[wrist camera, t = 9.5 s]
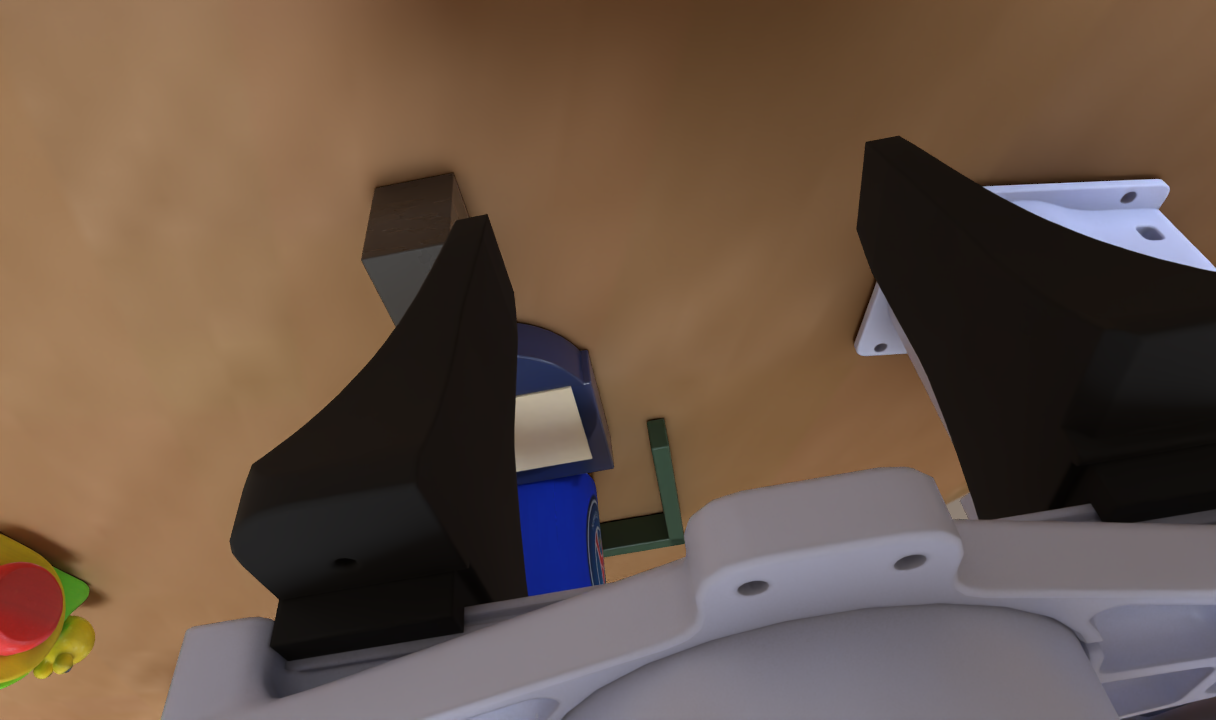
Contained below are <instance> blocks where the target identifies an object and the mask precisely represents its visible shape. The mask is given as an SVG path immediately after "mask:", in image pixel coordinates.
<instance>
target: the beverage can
mask: <svg viewBox="0 0 1216 720" xmlns="http://www.w3.org/2000/svg"><path fill="white" fill-rule="evenodd" d="M517 488H518V500H519V512H520V523H521V534H522V544H523V554H524V564H525V574H526V583H527V591H528V597H529V596H535V595H541V594H547V593H553V592H559V591H565V590H571V589H577V588H583V587H589V586H595V585H601V584H606V578H605V568H604V559H603V549H602V540H601V530H600V521H599V511H598V501H597V492H596V486H595V482H594V481H593V479H592V478H591V477H590V476H589V475H588V474H587V473H585V474H579V475H573V476H567V477H562V478H556V479H550V480H544V481H539V482H533V483H527V484H521V485H517Z"/></svg>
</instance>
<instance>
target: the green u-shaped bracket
mask: <svg viewBox="0 0 1216 720" xmlns="http://www.w3.org/2000/svg"><path fill="white" fill-rule="evenodd" d="M647 427H648V433H649V439H650V445H651V450H652V455H653V461H654V466H655V471H656V476H657V481H658V486H659V491H660V496H661V501H662V506H663V511H664V513H662V514H656V515H650V516H644V517H638V518H632V519H626V520H621V521H615V522H609V523H603V524H600V530H601V540H602V549H603V557H609V556H615V555H621V554H627V553H633V552H639V551H645V550H651V549H656V548H662V547H668V546H674V545H680V544H685V540H684V531H683V525H682V519H681V513H680V507H679V501H678V495H677V489H676V483H675V477H674V471H673V465H672V459H671V453H670V447H669V442H668V437H667V431H666V426H665V421H664V419H658V420H652V421H648V422H647Z"/></svg>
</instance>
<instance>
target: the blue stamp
mask: <svg viewBox="0 0 1216 720" xmlns="http://www.w3.org/2000/svg"><path fill="white" fill-rule="evenodd" d="M465 218H470V217H469V215H468V212H467V209H466V206H465V204H464V201H463V198H462V195H461V192H460V190H459V187H458V184H457V181H456V179H455V176H454V174H453V173H451V174H446V175H441V176H436V177H431V178H426V179H421V180H415V181H410V182H405V183H400V184H395V185H390V186H385V187H379V188H375V190H374V195H373V200H372V205H371V211H370V216H369V221H368V226H367V232H366V237H365V242H364V247H363V253H362V258H361V261H362V263H363V265H364V267H365V269H366V271H367V272H368V274H369V276H370V278H371V280H372V282H373V284H374V286H375V288H376V290H377V292H378V294H379V296H380V298H381V299H382V301H383V303H384V305H385V307H386V309H387V311H388V313H389V315H390V317H391V319H392V321H393V323H394V325H395V326H397V325H398V323H399V322H400V320H401V319H402V317H403V315H404V314H405V312H406V311H407V309H408V308H409V306H410V305H411V303H412V301H413V300H414V298H415V297H416V295H417V293H418V291H419V290H420V288H421V286H422V284H423V282H424V281H425V279H426V277H427V275H428V273H429V272H430V270H431V268H432V266H433V264H434V262H435V260H436V258H437V256H438V254H439V252H440V250H441V248H442V246H443V244H444V242H445V240H446V238H447V236H448V234H449V232H450V230H451V228H452V226H453V225H454V223H455V222H456V220H460V219H465ZM517 330H518V355H517V381H516V405H515V428H514V429H515V460H516V474H517V485H521V484H527V483H533V482H539V481H544V480H550V479H556V478H562V477H567V476H573V475H579V474H585V473H590V472H596V471H602V470H608V469H613V468H614V462H613V454H612V446H611V438H610V434H609V430H608V426H607V422H606V418H605V414H604V411H603V407H602V403H601V399H600V395H599V392H598V388H597V384H596V380H595V376H594V372H593V369H592V365H591V361H590V357H589V353H588V351H587V350H582V351H580V350H579V349H577V348H576V347H575V346H574V345H573V344H572V343H570V342H569V341H567V340H566V339H564V338H563V337H561V336H559V335H557V334H555V333H553V332H550V331H548V330H545V329H542V328H539V327H535V326H531V325H527V324H521V323H517Z"/></svg>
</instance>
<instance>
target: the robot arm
mask: <svg viewBox="0 0 1216 720" xmlns="http://www.w3.org/2000/svg"><path fill="white" fill-rule="evenodd" d="M1169 191H1170V188H1169V186H1168V185H1167V184H1166V183H1165V182H1164V181H1163V180H1161V179H1143V180H1120V181H1097V182H1074V183H1050V184H1027V185H1004V186H981V185H979V184H977V183H975V182H974V181H972V180H970V179H969V178H967V177H965V176H964V175H962V174H960V173H959V172H957V171H956V170H954V169H952V168H951V167H949V166H947V165H946V164H944V163H943V162H941V161H939V160H938V159H936V158H935V157H933V156H932V155H930V154H928V153H927V152H925V151H924V150H922V149H920V148H919V147H917V146H916V145H914V144H912V143H911V142H909V141H907V140H905V139H904V138H902V137H900V136H895V137H889V138H884V139H879V140H874V141H868V142H866V143H865V153H864V162H863V172H862V181H861V191H860V200H859V210H858V219H857V232H858V235H859V238H860V241H861V244H862V247H863V250H864V253H865V255H866V258H867V261H868V263H869V266H870V269H871V271H872V273H873V275H874V277H875V279H876V281H877V282H876V285H875V288H874V290H873V293H872V296H871V299H870V301H869V304H868V307H867V310H866V313H865V315H864V318H863V321H862V324H861V326H860V329H859V332H858V335H857V337H856V340H855V343H854V347H855V349H856V352H857V353H858V354H859V355H861V356H874V355H891V354H907V353H908V355H909V357H910V359H911V361H912V363H913V365H914V367H915V369H916V371H917V373H918V375H919V377H920V379H921V381H922V383H923V385H924V387H925V389H926V391H927V393H928V395H929V397H930V399H931V401H932V403H933V405H934V407H935V409H936V411H937V413H938V415H939V417H940V419H941V421H942V423H943V425H944V427H945V429H946V431H947V433H948V435H949V437H950V439H951V441H952V443H953V445H954V447H955V450H956V453H957V456H958V459H959V462H960V465H961V468H962V471H963V474H964V476H965V479H966V482H967V485H968V488H969V491H970V493H968V494H967V495H965V496H964V497H962V498H961V499H960V502H961V504H962V506H963V508H964V511H965V513H966V515H967V517H968V519H952V518H951V515H950V513H949V511H948V509H947V507H946V505H945V502H944V500H943V498H942V496H941V494H940V492H939V489H938V487H937V485H936V483H935V481H934V479H933V477H931V476H929V475H926V474H924V473H922V472H920V471H917V470H915V469H913V468H909V467H879V468H873V469H867V470H861V471H855V472H849V473H844V474H838V475H832V476H826V477H820V478H814V479H808V480H802V481H797V482H791V483H785V484H779V485H773V486H767V487H761V488H755V489H749V490H744V491H739V492H736V493H733V494H730V495H726V496H723V497H720V498H717V499H714V500H712V501H711V502H709V503H708V504H706V505H705V506H704V507H702V508H701V509H700V510H698V511H697V512H696V513H694V514H693V515H692V516H691V517H690V518H689V521H688V524H687V527H686V530H685V533H684V540H685V546H686V557H684V558H681V559H679V560H676V561H673V562H670V563H667V564H664V565H662V566H659V567H656V568H653V569H650V570H647V571H644V572H642V573H639V574H636V575H633V576H630V577H627V578H625V579H622V580H619V581H616V582H613V583H607V584H601V585H595V586H589V587H583V588H577V589H571V590H565V591H559V592H553V593H547V594H541V595H535V596H529V597H528V591H527V583H526V574H525V564H524V554H523V544H522V534H521V523H520V512H519V500H518V488H517V474H516V460H515V429H514V428H515V405H516V381H517V355H518V330H517V318H516V308H515V298H514V291H513V288H512V285H511V282H510V280H509V277H508V274H507V271H506V268H505V265H504V262H503V259H502V256H501V253H500V250H499V247H498V244H497V241H496V238H495V235H494V232H493V229H492V226H491V223H490V220H489V217H488V214H486V215H481V216H475V217H470V218H465V219H460V220H456V222H455V223H454V225H453V226H452V228H451V230H450V232H449V234H448V236H447V238H446V240H445V242H444V244H443V246H442V248H441V250H440V252H439V254H438V256H437V258H436V260H435V262H434V264H433V266H432V268H431V270H430V272H429V273H428V275H427V277H426V279H425V281H424V282H423V284H422V286H421V288H420V290H419V291H418V293H417V295H416V297H415V298H414V300H413V301H412V303H411V305H410V306H409V308H408V309H407V311H406V312H405V314H404V315H403V317H402V319H401V320H400V322H399V323H398V325H397V326H396V328H395V329H394V331H393V332H392V333H391V335H390V336H389V338H388V339H387V340H386V342H385V343H384V344H383V346H382V347H381V348H380V349H379V351H378V352H377V353H376V354H375V356H374V357H373V358H372V359H371V360H370V362H369V363H368V364H367V365H366V366H365V367H364V368H363V369H362V370H361V371H360V372H359V373H358V375H357V376H356V377H355V378H354V379H353V380H352V381H351V382H350V383H349V384H348V385H347V386H346V387H345V388H344V389H343V390H342V391H341V393H340V394H339V395H338V396H336V397H335V398H334V399H333V400H332V401H331V402H330V403H329V404H328V405H327V406H326V407H325V408H324V409H323V410H321V411H320V412H319V413H318V414H317V415H316V416H315V417H313V418H312V419H311V420H310V421H309V422H308V423H306V424H305V425H304V426H303V427H302V428H300V429H299V430H298V431H297V432H295V433H294V434H293V435H292V436H290V437H289V438H288V439H286V440H285V441H284V442H282V443H281V444H280V445H278V446H277V447H276V448H274V449H273V450H272V451H270V452H269V453H268V454H266V455H265V456H264V457H262V458H261V459H259V460H258V461H257V462H255V463H254V464H252V466H251V469H250V472H249V475H248V477H247V480H246V483H245V485H244V488H243V492H242V496H241V499H240V503H239V507H238V511H237V515H236V518H235V522H234V526H233V530H232V534H231V538H230V545H231V550H232V553H233V555H234V556H235V557H236V559H237V560H238V561H239V562H240V564H241V565H242V566H243V567H244V568H245V569H246V570H247V571H249V572H250V573H251V574H252V575H253V576H254V577H255V578H256V579H257V580H258V581H259V582H261V583H262V584H263V585H264V586H265V587H266V588H267V589H268V590H269V591H270V592H271V593H273V594H274V595H275V596H276V597H277V598H278V599H279V603H278V608H277V613H276V618H275V621H273V620H271V619H268V618H262V617H248V618H242V619H236V620H230V621H224V622H218V623H212V624H206V625H200V626H194V627H191V628H190V629H188V630H187V631H186V633H185V636H184V640H183V643H182V646H181V650H180V653H179V657H178V660H177V664H176V667H175V671H174V674H173V678H172V681H171V685H170V688H169V692H168V695H167V699H166V702H165V706H164V709H163V713H162V716H161V720H1216V268H1215V267H1214V266H1213V265H1212V264H1211V263H1210V262H1209V261H1208V260H1207V258H1206V257H1205V256H1204V255H1203V254H1202V253H1201V252H1200V251H1199V250H1198V249H1197V248H1196V247H1195V246H1194V245H1193V244H1192V243H1191V242H1190V241H1189V240H1188V239H1187V238H1186V237H1185V236H1184V235H1183V234H1182V233H1181V232H1180V231H1179V230H1178V229H1177V228H1176V227H1175V226H1174V225H1173V224H1172V223H1171V222H1170V221H1169V220H1168V219H1167V218H1166V217H1165V216H1164V215H1163V214H1162V213H1161V212H1160V211H1159V210H1158V209H1159V208H1160V206H1161V205H1162V203H1163V202H1164V200H1165V199H1166V197H1167V196H1168V193H1169ZM1125 194H1126V195H1125ZM878 344H879V345H878Z"/></svg>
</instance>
